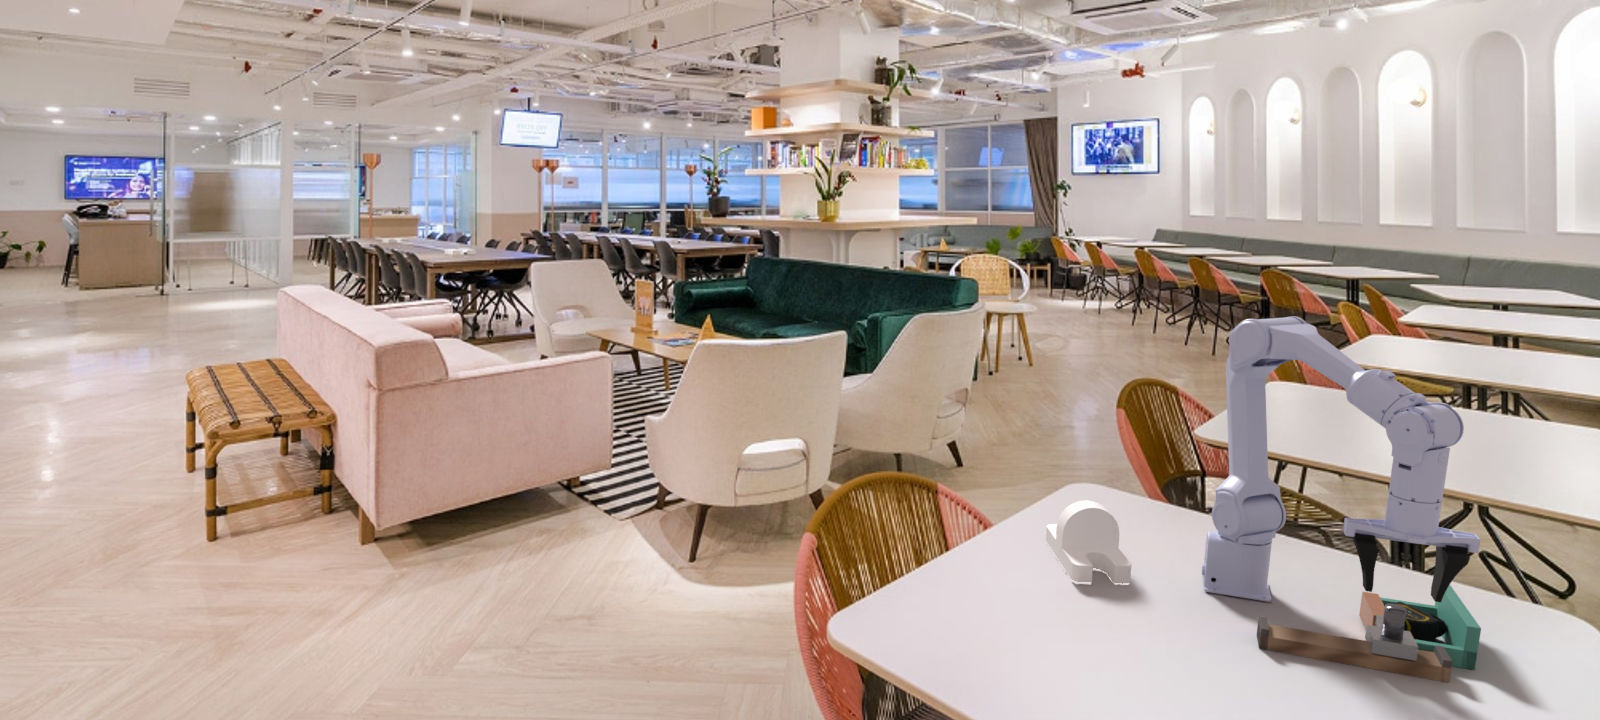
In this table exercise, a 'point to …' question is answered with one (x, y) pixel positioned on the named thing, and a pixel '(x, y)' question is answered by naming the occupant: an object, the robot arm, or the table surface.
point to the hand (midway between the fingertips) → (1401, 593)
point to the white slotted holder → (1088, 543)
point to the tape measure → (1422, 624)
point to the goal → (1452, 629)
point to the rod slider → (1386, 628)
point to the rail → (1351, 651)
